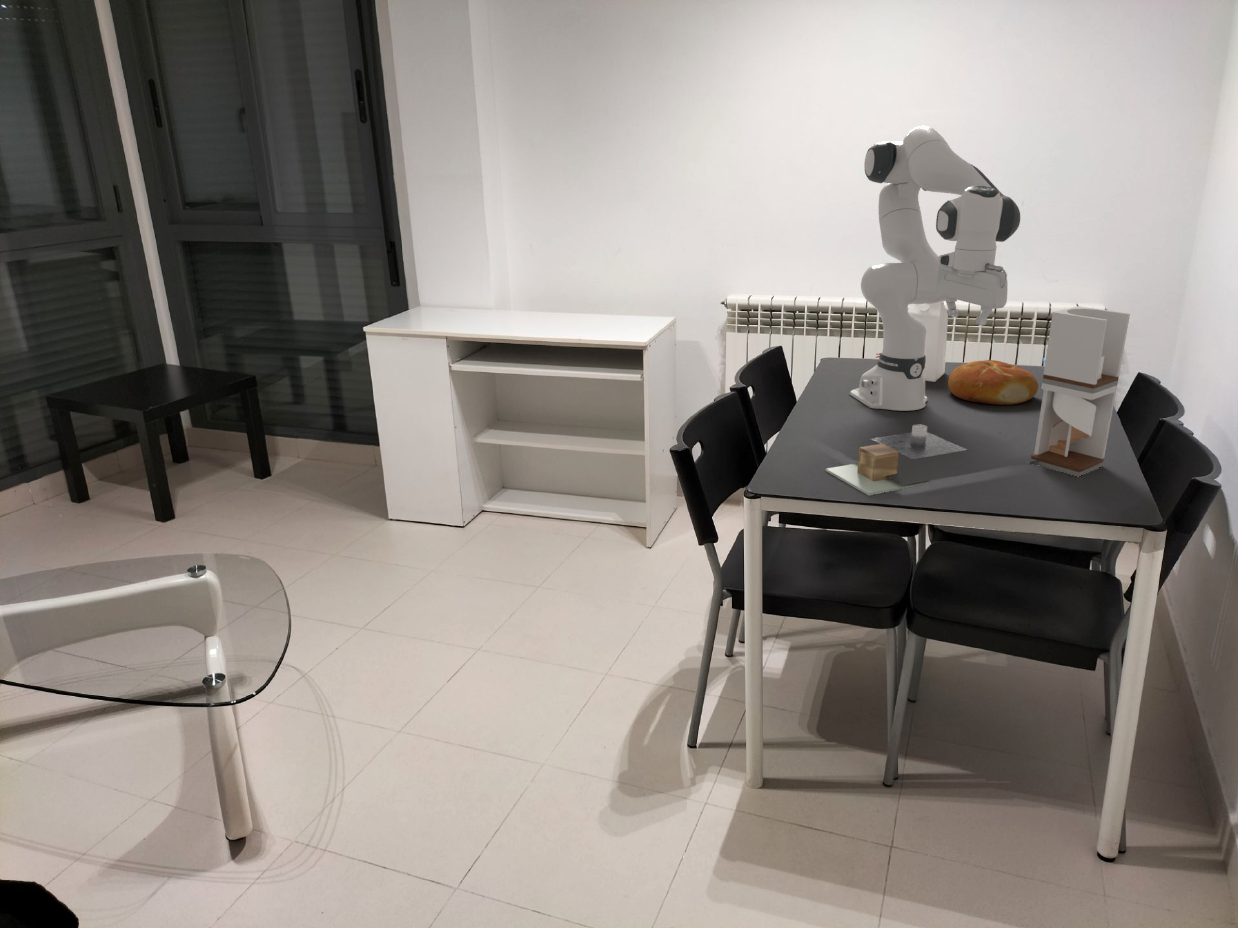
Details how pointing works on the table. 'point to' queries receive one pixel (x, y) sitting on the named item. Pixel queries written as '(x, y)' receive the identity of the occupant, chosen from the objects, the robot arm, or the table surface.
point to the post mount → (918, 443)
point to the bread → (992, 383)
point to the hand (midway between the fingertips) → (966, 320)
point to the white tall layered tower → (1079, 388)
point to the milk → (933, 336)
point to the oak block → (877, 462)
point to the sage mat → (868, 480)
